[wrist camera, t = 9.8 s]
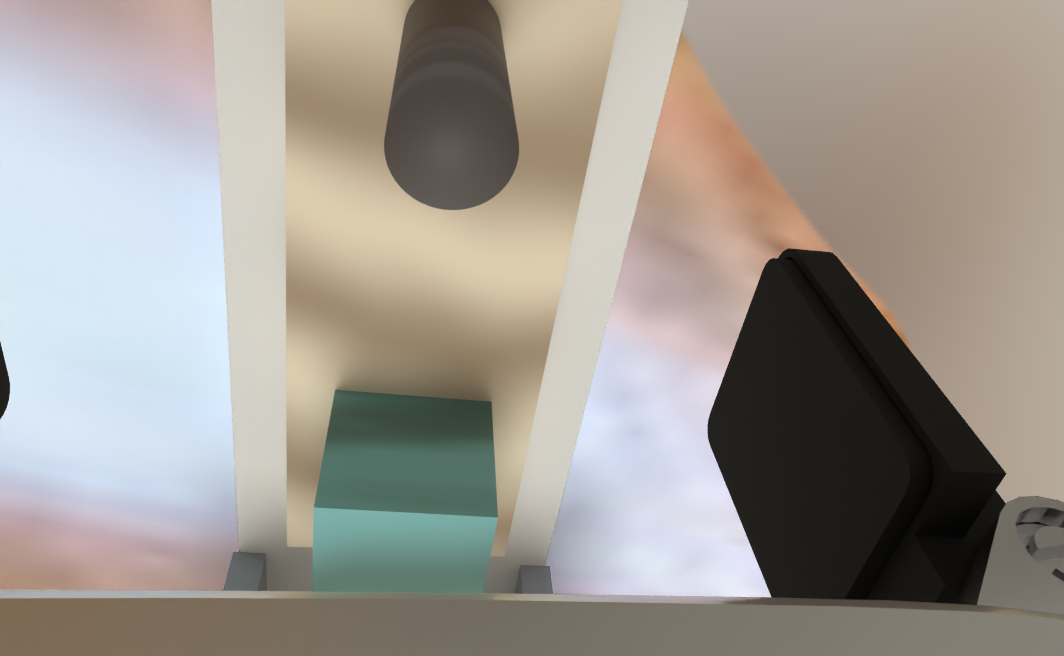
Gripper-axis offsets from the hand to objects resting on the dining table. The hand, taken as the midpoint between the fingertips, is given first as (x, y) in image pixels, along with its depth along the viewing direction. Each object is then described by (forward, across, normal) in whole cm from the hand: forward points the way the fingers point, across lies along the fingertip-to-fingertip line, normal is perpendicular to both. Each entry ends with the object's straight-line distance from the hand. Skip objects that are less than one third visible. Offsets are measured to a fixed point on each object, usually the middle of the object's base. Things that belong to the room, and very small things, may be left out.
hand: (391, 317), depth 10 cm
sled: (+14, -1, +9) cm, 16 cm away
